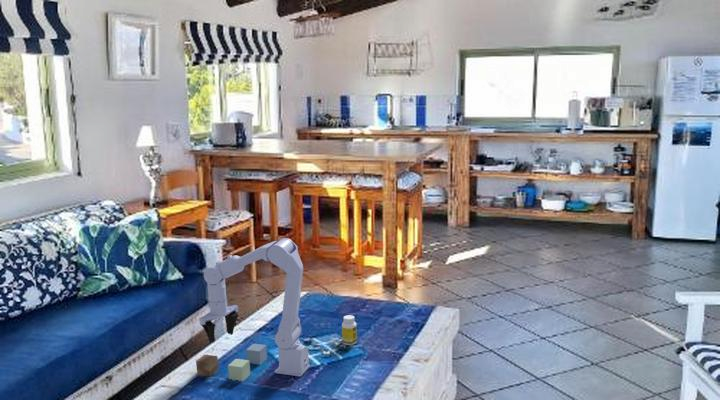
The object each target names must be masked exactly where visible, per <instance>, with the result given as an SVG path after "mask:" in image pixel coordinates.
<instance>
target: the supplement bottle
mask: <svg viewBox="0 0 720 400" xmlns="http://www.w3.org/2000/svg"><path fill="white" fill-rule="evenodd" d="M357 325H358V324H357V322H356V319H355V316H354V315H351V314H348V315H344V316H343V322H342V324H341V341H342V342H341V343H342V344H343V345H346V346H353V345H355V344H357V342H358V332H357V331H358V329H357V327H358V326H357Z"/></svg>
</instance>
